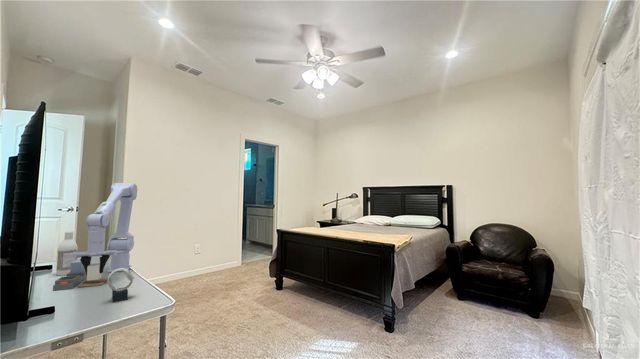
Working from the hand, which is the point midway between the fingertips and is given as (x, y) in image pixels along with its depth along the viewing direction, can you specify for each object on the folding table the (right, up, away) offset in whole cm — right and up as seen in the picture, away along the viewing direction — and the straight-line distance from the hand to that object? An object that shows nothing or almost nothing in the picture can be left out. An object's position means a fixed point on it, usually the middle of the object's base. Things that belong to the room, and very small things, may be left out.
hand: (94, 273), depth 115 cm
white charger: (0, -2, 0) cm, 2 cm away
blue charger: (-11, -2, +5) cm, 13 cm away
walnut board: (0, -4, 0) cm, 4 cm away
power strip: (-11, -4, +3) cm, 12 cm away
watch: (+23, -4, -16) cm, 28 cm away
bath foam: (-24, -5, +12) cm, 27 cm away
